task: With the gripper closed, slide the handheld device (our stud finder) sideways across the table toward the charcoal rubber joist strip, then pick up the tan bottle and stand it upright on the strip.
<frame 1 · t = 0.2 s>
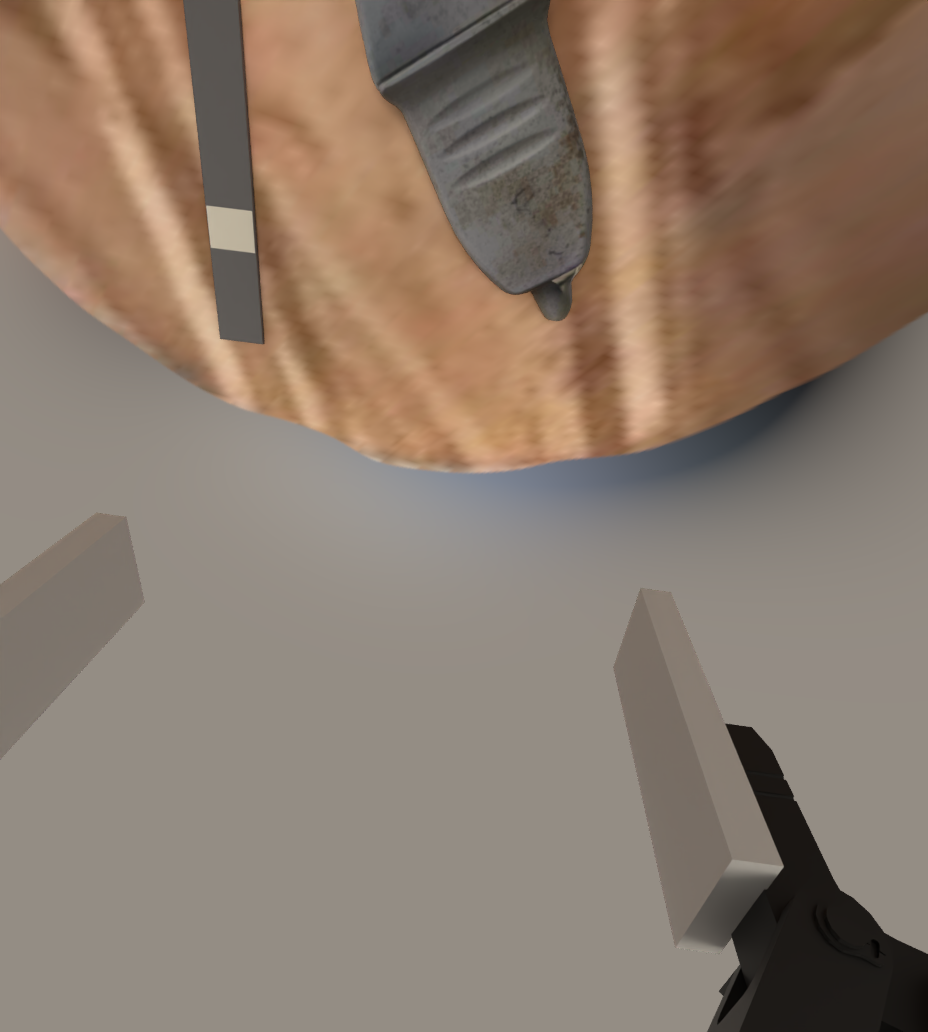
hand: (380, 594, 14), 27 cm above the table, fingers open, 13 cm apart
joist strip: (228, 174, 34), on the table
handheld device: (502, 150, 33), on the table
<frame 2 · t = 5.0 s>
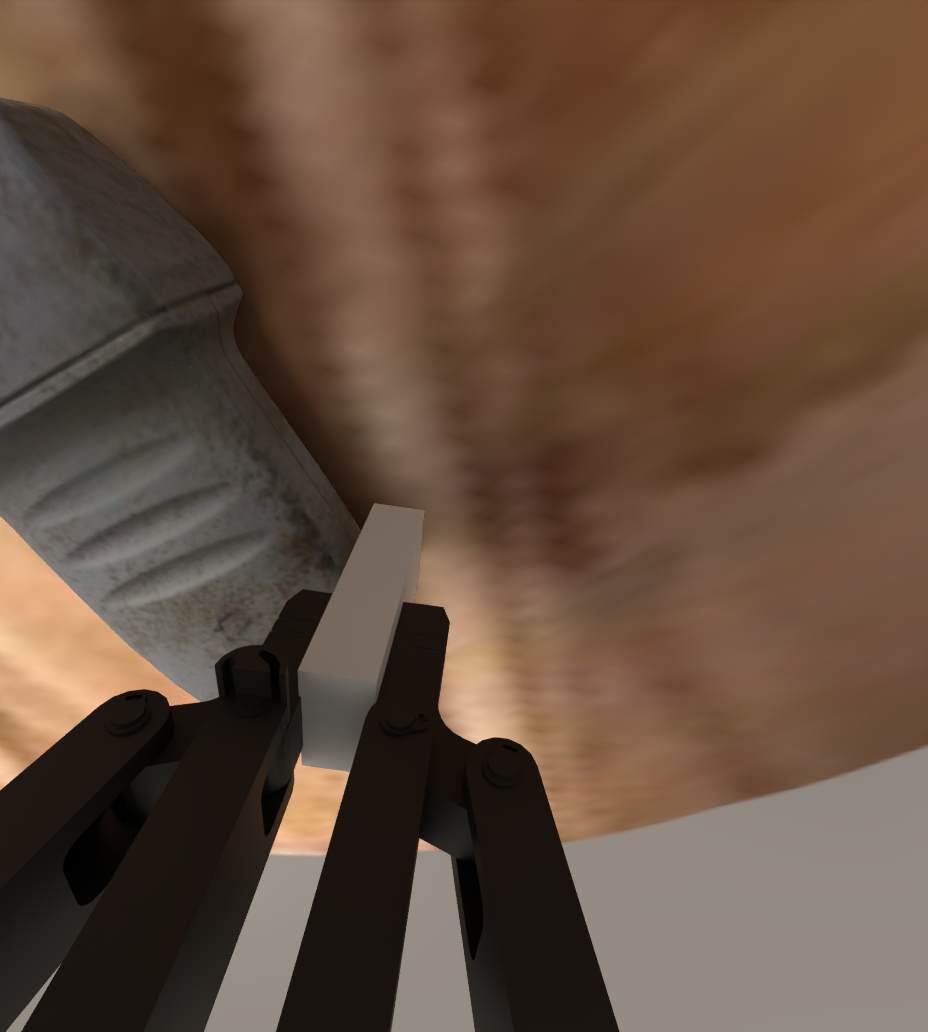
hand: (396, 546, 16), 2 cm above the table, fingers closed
handheld device: (229, 490, 19), on the table, touching gripper
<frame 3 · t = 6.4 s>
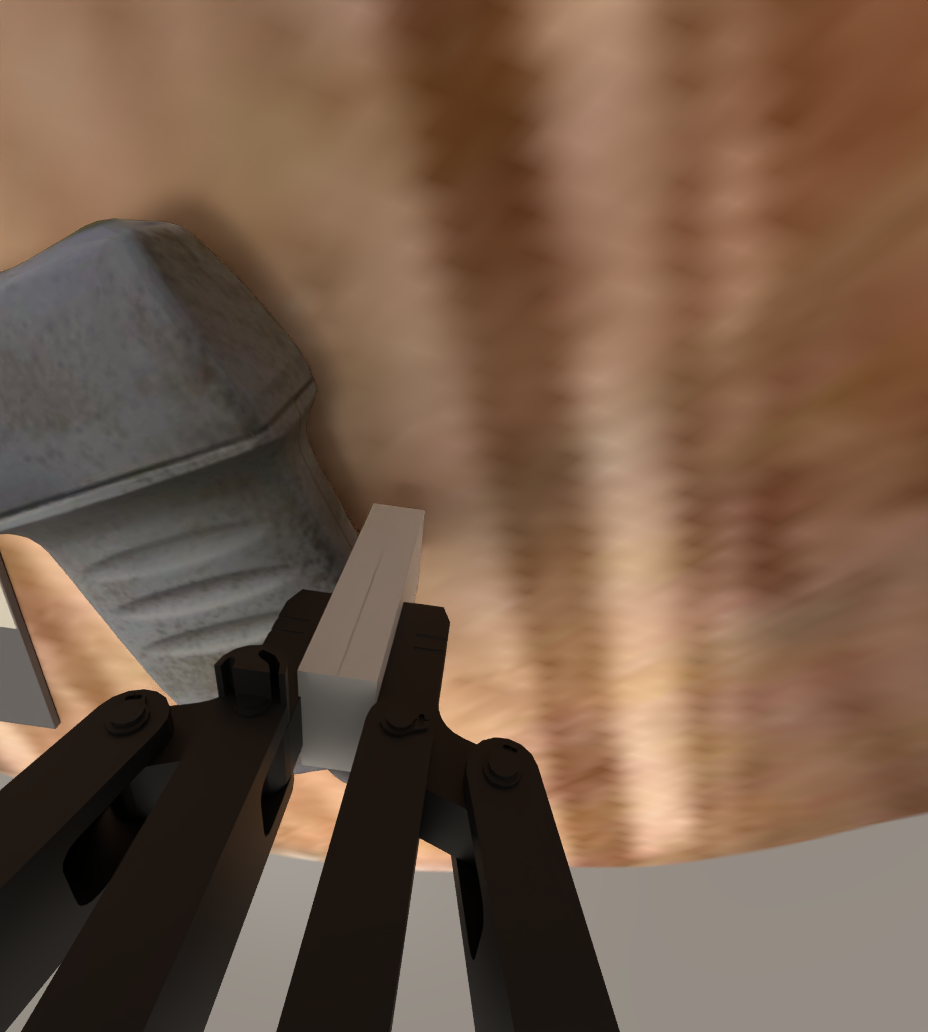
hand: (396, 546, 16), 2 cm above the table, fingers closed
handheld device: (268, 546, 20), on the table
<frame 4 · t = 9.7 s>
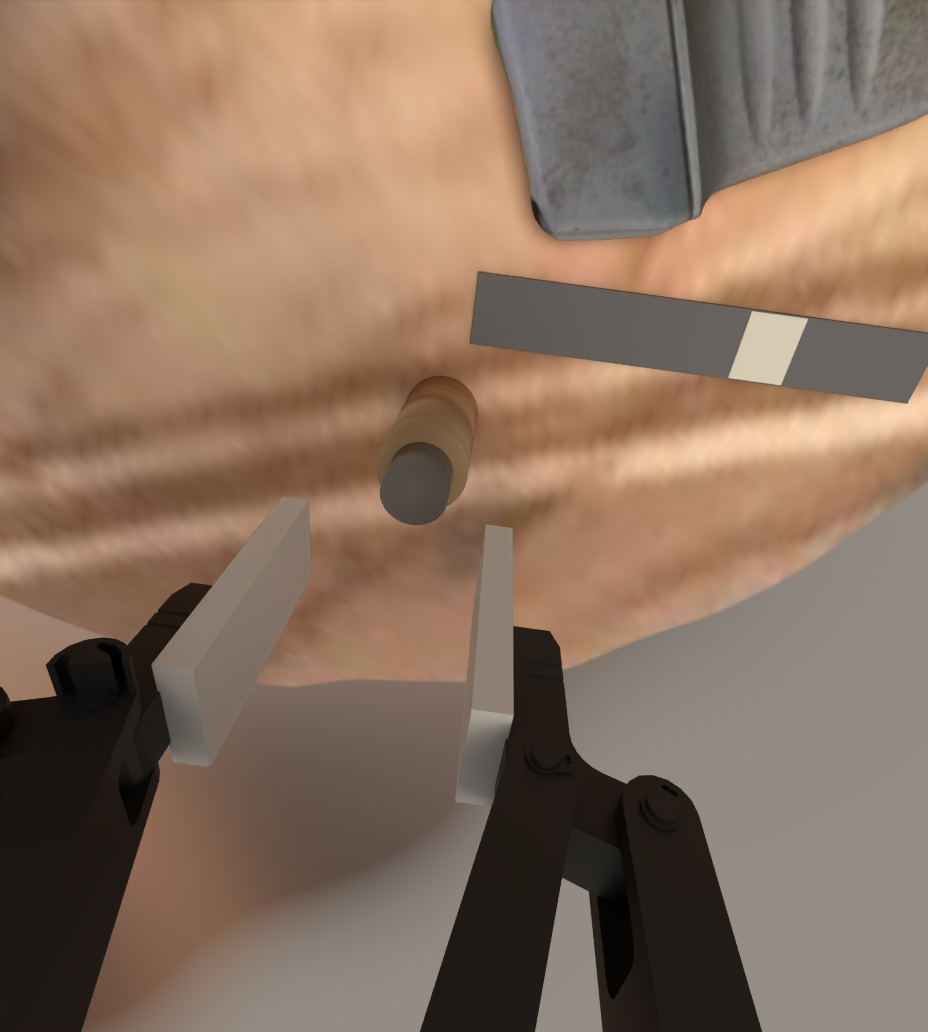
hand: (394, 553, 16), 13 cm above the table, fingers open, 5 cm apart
joist strip: (696, 338, 25), on the table
handheld device: (783, 25, 20), on the table
tan bottle: (441, 411, 27), on the table
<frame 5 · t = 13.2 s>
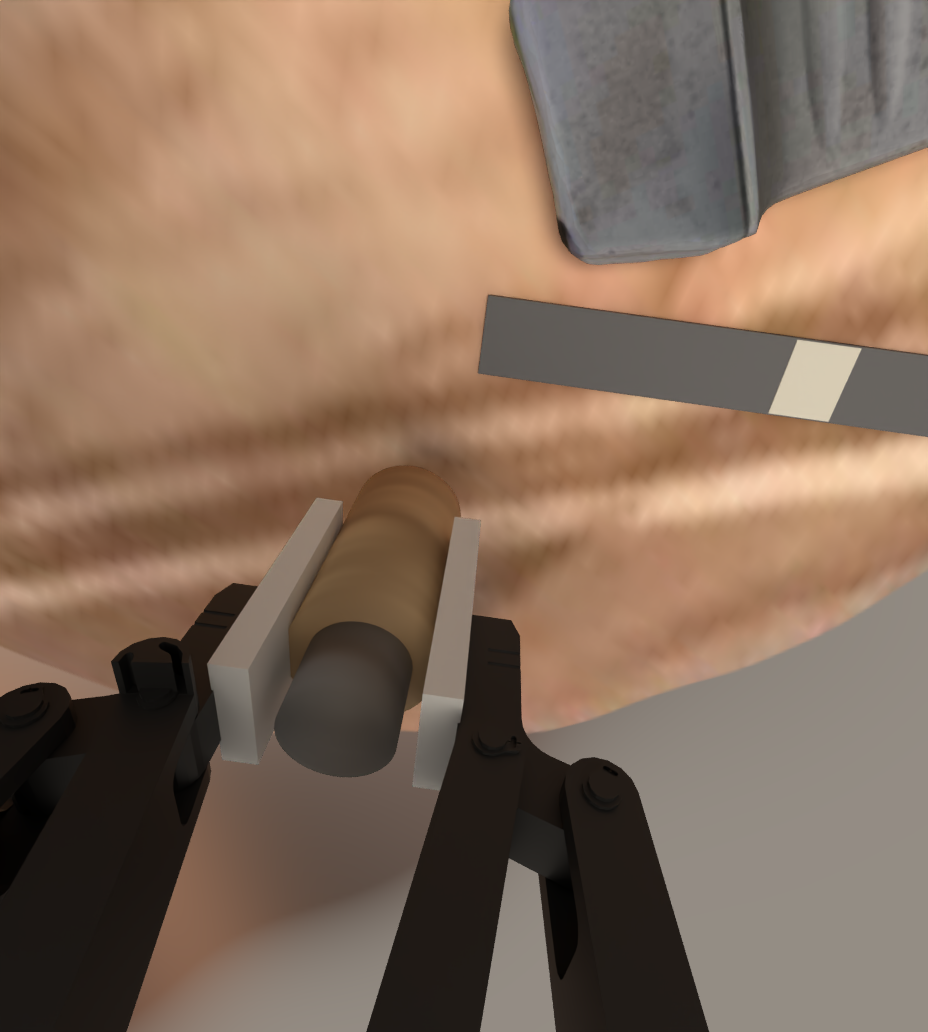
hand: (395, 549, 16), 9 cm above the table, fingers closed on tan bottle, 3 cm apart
joist strip: (733, 369, 22), on the table
handheld device: (846, 12, 17), on the table
tan bottle: (408, 513, 19), point 7 cm above the table, touching gripper
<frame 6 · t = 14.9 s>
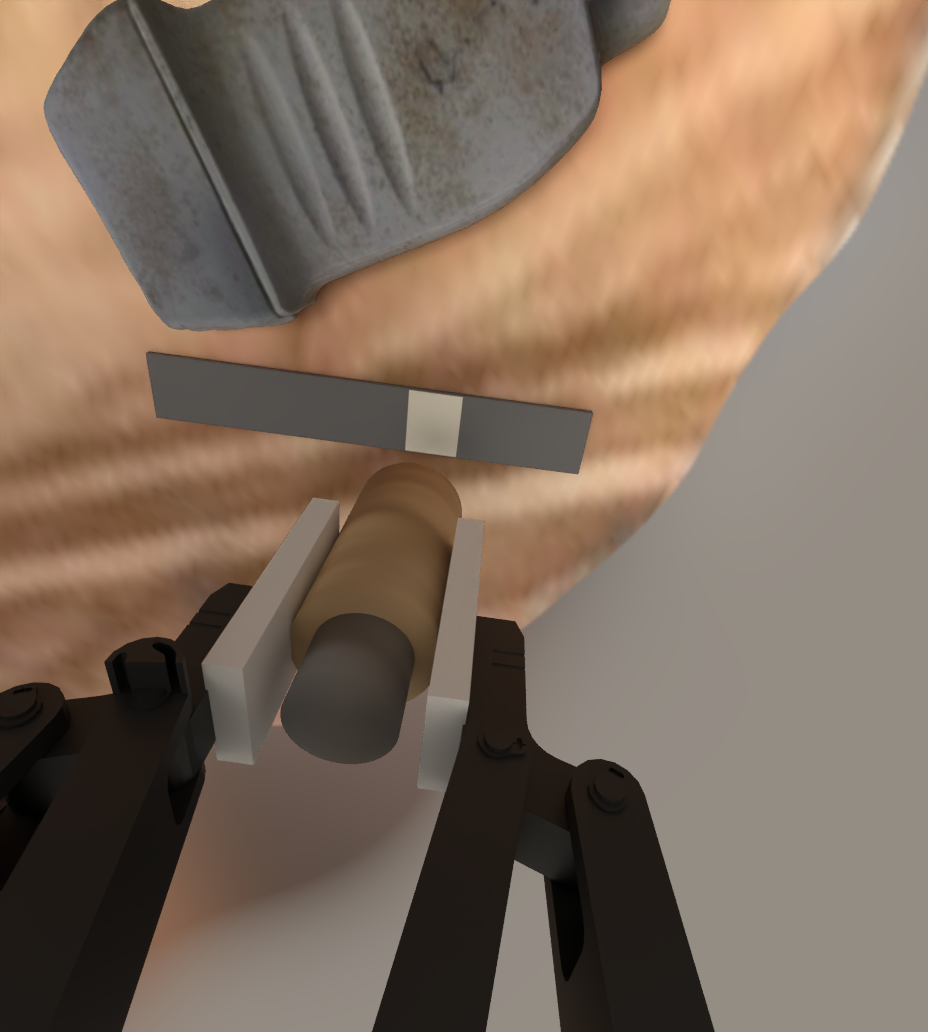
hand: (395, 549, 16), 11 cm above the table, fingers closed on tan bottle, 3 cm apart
joist strip: (369, 413, 26), on the table
handheld device: (377, 124, 20), on the table
tan bottle: (410, 510, 19), point 8 cm above the table, touching gripper
when the fingers open (1 cm above the table, at t = 16.8 s): tan bottle stays where it is, resting on joist strip.
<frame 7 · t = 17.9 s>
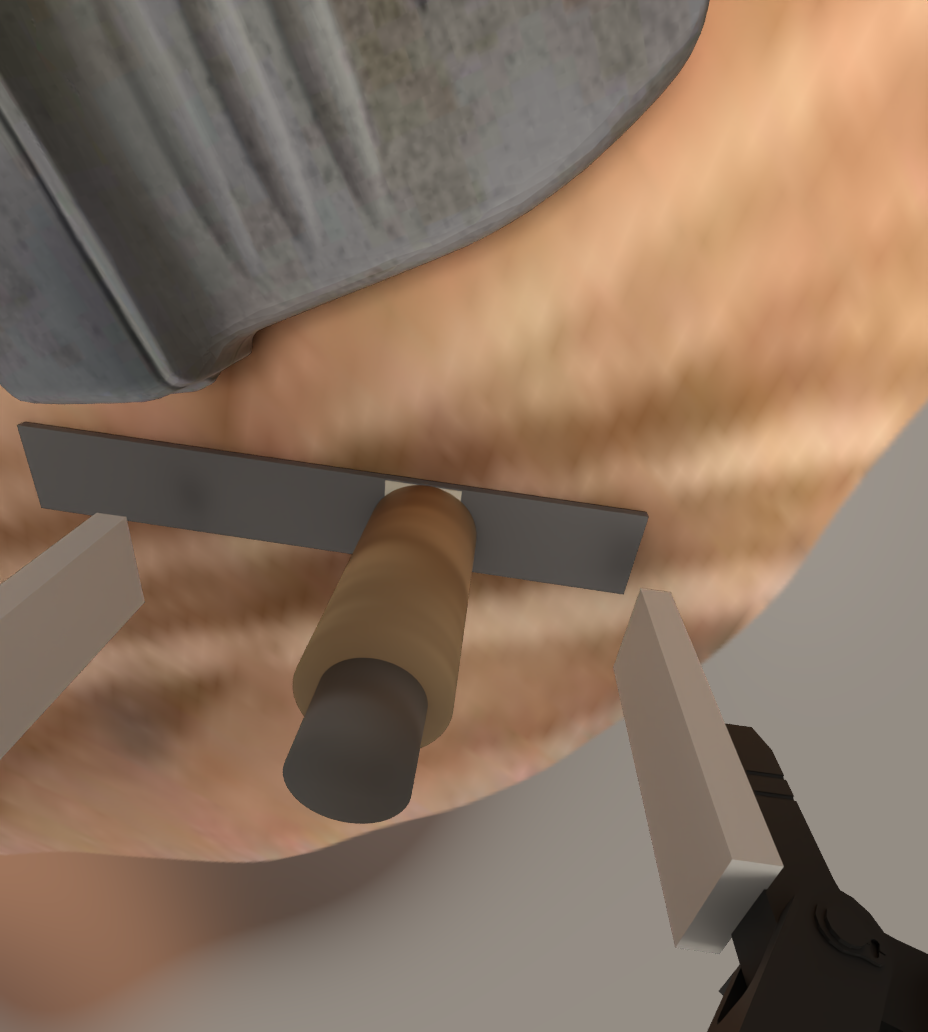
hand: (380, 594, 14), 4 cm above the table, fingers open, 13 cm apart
joist strip: (331, 507, 18), on the table
handheld device: (333, 86, 13), on the table
tan bottle: (422, 533, 18), resting on joist strip
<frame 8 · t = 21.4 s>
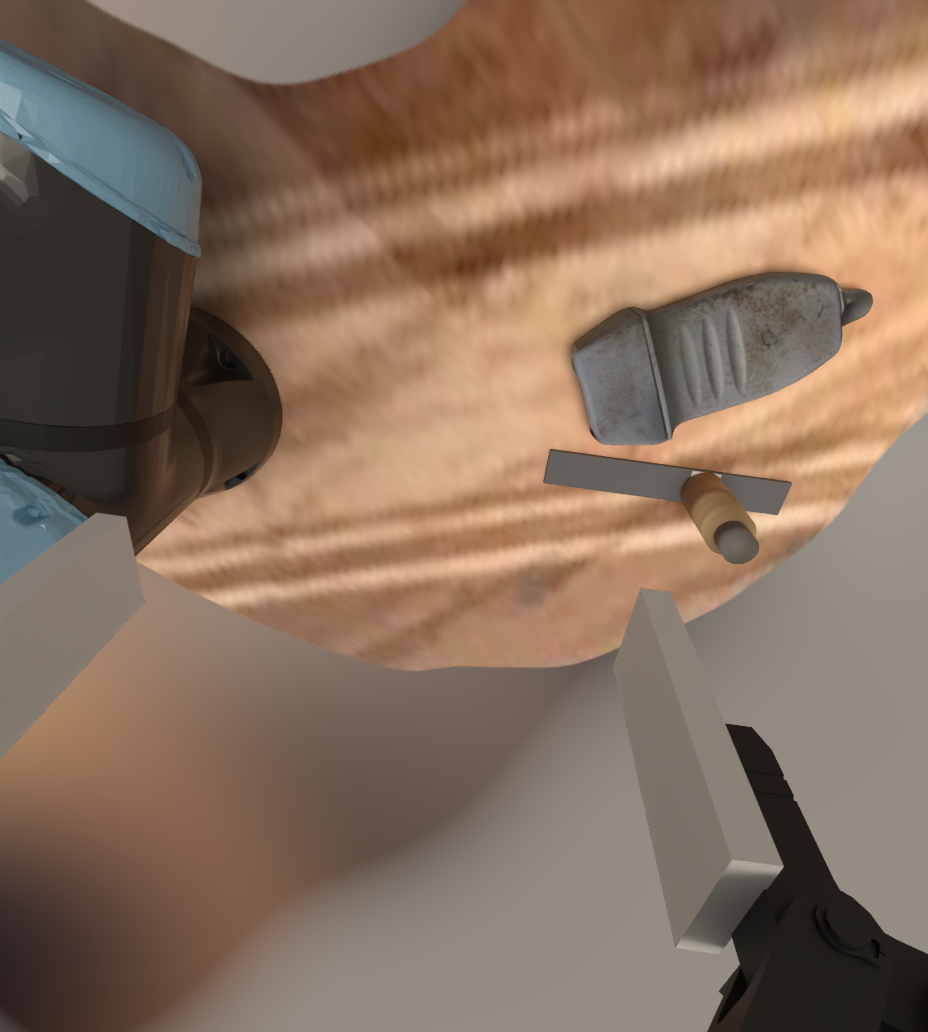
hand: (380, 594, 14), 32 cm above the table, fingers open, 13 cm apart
joist strip: (664, 481, 47), on the table
handheld device: (708, 342, 41), on the table
tan bottle: (701, 491, 46), resting on joist strip
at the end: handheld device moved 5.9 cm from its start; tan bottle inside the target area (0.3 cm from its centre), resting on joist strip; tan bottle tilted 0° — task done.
